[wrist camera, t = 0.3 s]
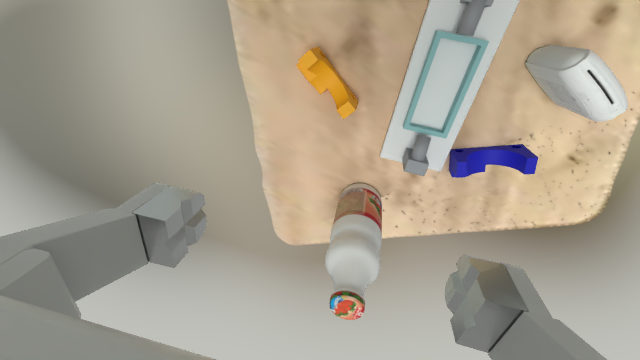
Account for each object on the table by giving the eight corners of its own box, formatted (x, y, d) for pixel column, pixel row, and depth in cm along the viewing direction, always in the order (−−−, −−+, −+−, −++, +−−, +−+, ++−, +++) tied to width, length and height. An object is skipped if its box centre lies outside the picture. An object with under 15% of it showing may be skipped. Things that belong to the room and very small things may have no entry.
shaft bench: (437, -28, 40) (447, -38, 34) (521, -12, 39) (546, -20, 33) (379, 153, 55) (379, 169, 49) (438, 168, 54) (446, 185, 48)
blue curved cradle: (448, 170, 54) (455, 184, 49) (450, 149, 52) (457, 162, 47) (517, 166, 51) (532, 181, 46) (521, 143, 49) (538, 157, 44)
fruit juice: (346, 176, 59) (322, 276, 35) (388, 189, 59) (391, 299, 35) (335, 209, 64) (307, 317, 40) (373, 221, 64) (368, 338, 40)
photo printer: (583, 88, 43) (648, 108, 33) (554, 107, 46) (606, 131, 35) (547, 39, 41) (604, 43, 31) (518, 61, 43) (563, 72, 33)
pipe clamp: (300, 63, 50) (290, 67, 45) (318, 46, 48) (310, 49, 43) (340, 114, 53) (335, 125, 48) (358, 101, 51) (355, 110, 46)
